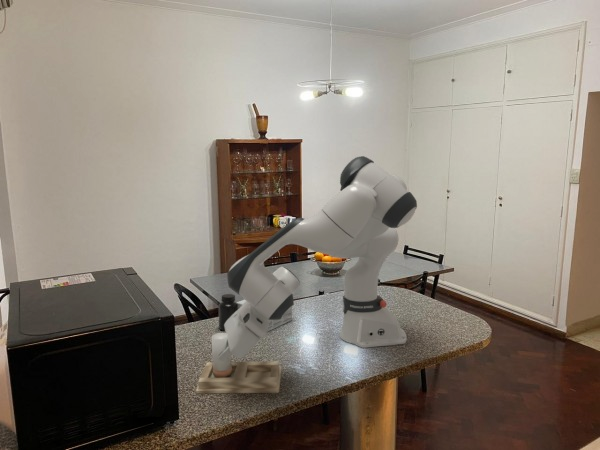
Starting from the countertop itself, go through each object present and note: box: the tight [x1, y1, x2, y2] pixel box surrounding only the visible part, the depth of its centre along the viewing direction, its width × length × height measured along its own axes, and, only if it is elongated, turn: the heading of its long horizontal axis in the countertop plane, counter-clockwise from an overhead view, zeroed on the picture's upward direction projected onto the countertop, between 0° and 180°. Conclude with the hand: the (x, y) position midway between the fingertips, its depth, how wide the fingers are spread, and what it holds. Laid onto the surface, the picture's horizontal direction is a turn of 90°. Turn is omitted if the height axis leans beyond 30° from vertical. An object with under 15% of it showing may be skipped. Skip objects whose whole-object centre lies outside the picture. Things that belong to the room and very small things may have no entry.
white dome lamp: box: [211, 332, 232, 378], centre depth 122 cm, size 5×5×11 cm
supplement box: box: [235, 298, 293, 333], centre depth 164 cm, size 17×13×9 cm
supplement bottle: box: [218, 293, 238, 331], centre depth 160 cm, size 7×7×12 cm
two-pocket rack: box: [195, 361, 282, 394], centre depth 123 cm, size 22×13×3 cm, turn 89°
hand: (219, 353), depth 122 cm, fingers closed on white dome lamp, 5 cm apart
